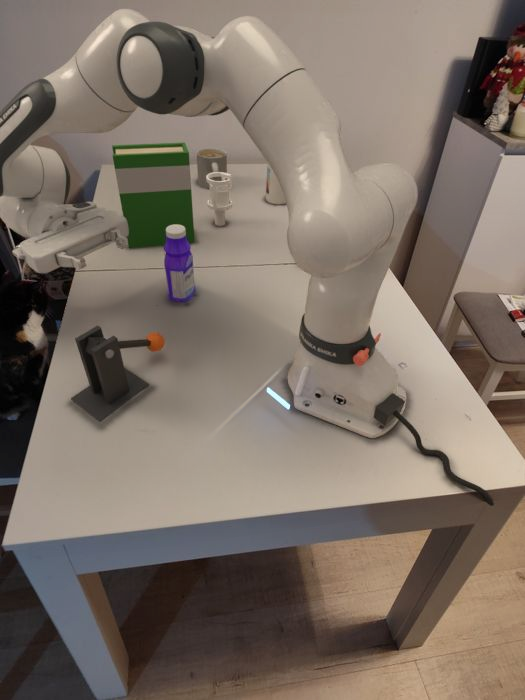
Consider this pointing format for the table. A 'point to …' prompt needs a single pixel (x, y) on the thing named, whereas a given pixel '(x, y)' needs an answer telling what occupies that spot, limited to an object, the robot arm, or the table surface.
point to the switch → (132, 343)
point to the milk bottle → (273, 188)
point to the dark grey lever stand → (105, 377)
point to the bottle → (178, 264)
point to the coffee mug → (210, 164)
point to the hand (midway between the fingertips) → (104, 254)
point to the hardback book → (154, 190)
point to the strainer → (219, 195)
